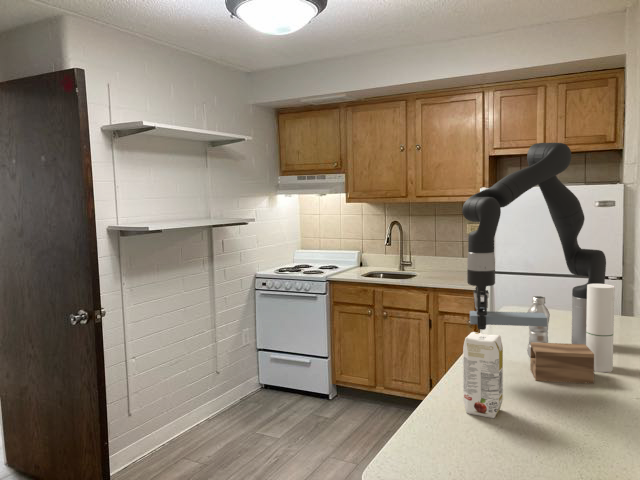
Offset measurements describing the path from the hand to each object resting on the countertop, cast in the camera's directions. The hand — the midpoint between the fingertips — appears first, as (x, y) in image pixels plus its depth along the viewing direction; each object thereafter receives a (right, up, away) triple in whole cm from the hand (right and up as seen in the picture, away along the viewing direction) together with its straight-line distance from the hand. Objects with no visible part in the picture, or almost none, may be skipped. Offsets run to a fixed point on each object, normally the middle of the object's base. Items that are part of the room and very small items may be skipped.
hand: (481, 325), depth 148 cm
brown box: (+24, -15, +2) cm, 28 cm away
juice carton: (-6, -18, -20) cm, 27 cm away
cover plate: (+7, +1, -2) cm, 7 cm away
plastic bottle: (+24, -14, +17) cm, 32 cm away
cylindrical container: (+38, -14, +8) cm, 41 cm away
